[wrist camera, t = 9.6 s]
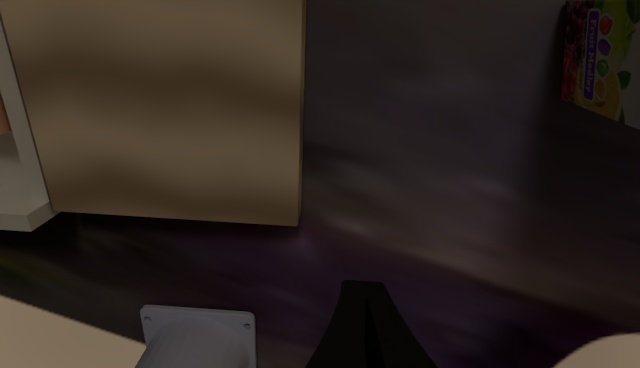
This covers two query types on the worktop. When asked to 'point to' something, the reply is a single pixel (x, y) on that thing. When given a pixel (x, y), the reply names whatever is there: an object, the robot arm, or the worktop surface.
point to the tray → (19, 156)
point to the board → (165, 105)
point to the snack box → (603, 58)
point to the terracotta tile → (4, 118)
